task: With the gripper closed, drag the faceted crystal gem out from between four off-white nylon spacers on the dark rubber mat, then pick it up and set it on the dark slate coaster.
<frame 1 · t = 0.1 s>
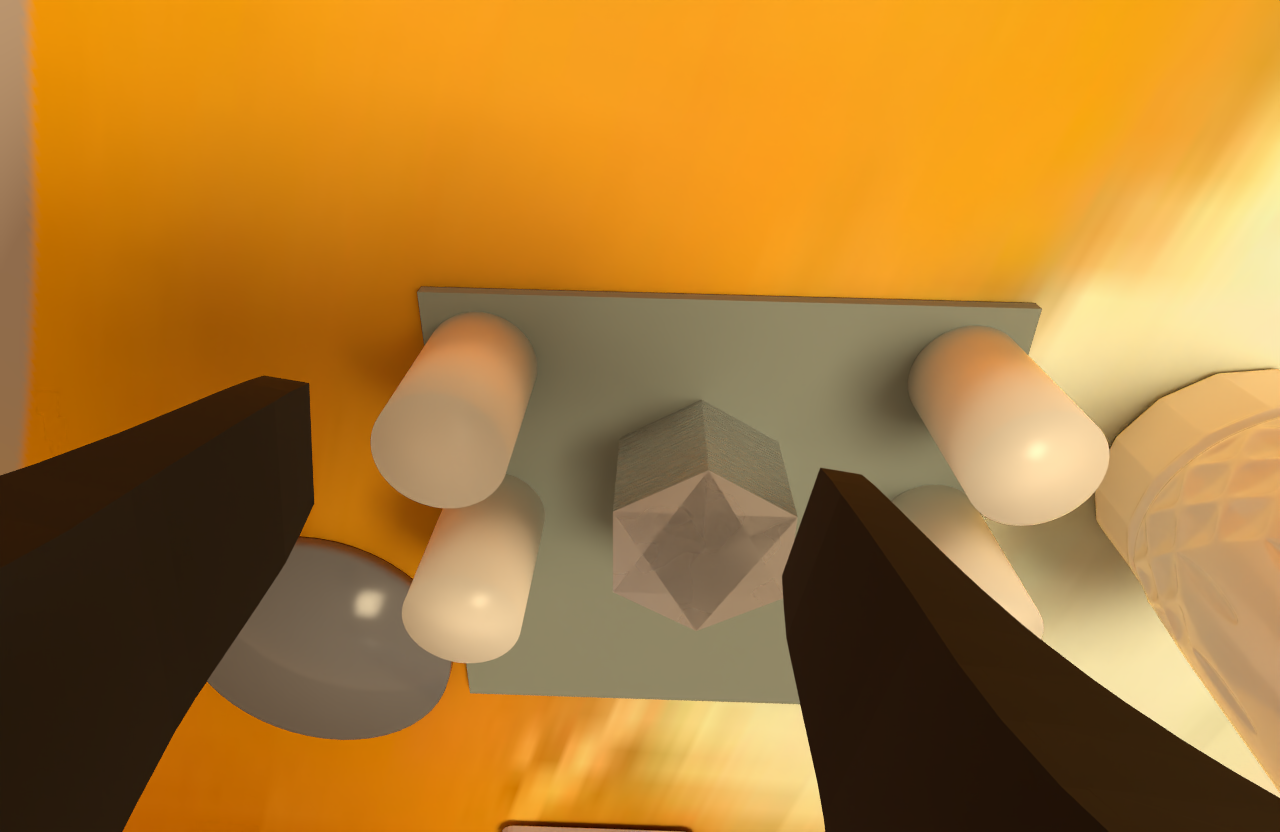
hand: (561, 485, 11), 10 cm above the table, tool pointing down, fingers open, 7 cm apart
mat: (708, 524, 24), on the table
coaster: (324, 639, 26), on the table
white cup: (1207, 466, 22), on the table
faceted crystal gem: (696, 477, 22), resting on mat
spacers: (709, 511, 23), resting on mat
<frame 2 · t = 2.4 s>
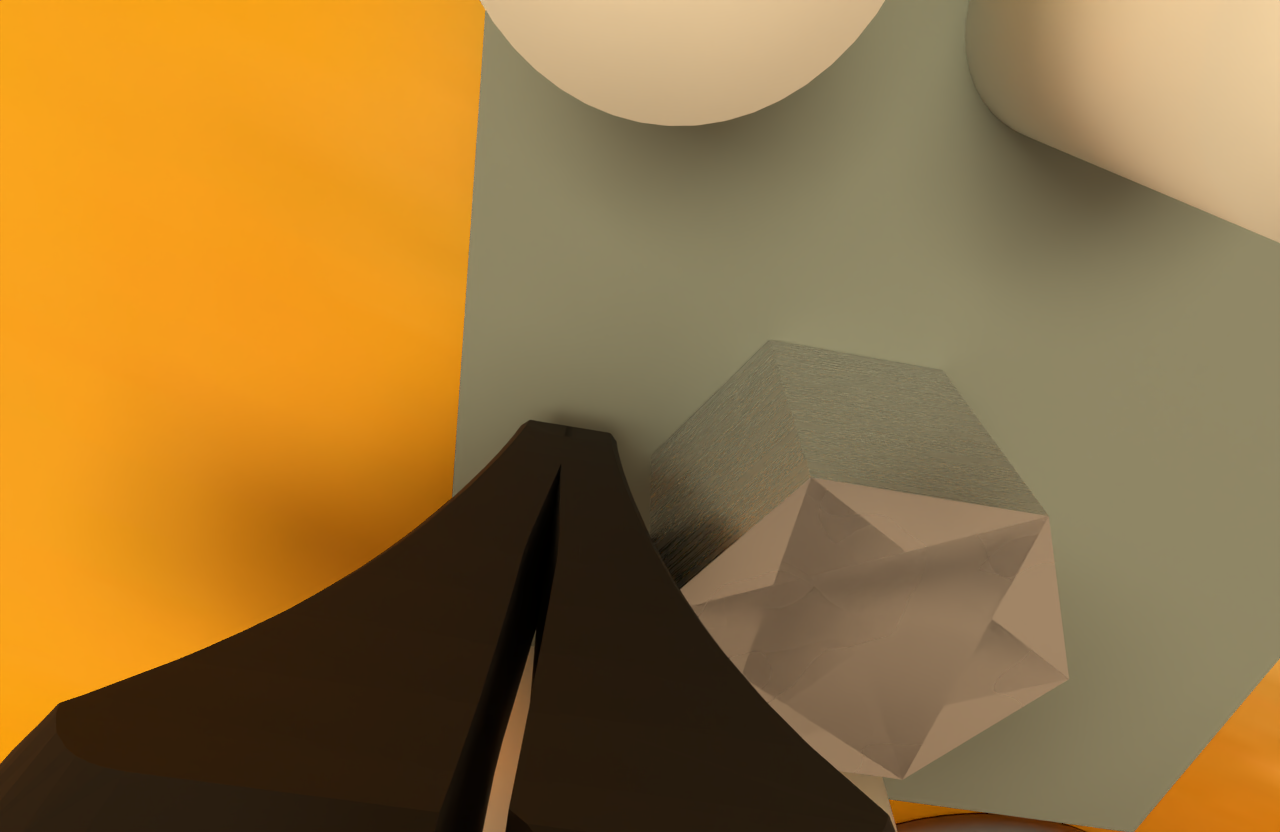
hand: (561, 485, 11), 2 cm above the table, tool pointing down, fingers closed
mat: (927, 460, 12), on the table
faceted crystal gem: (812, 481, 12), resting on mat, touching gripper
spacers: (897, 455, 12), resting on mat
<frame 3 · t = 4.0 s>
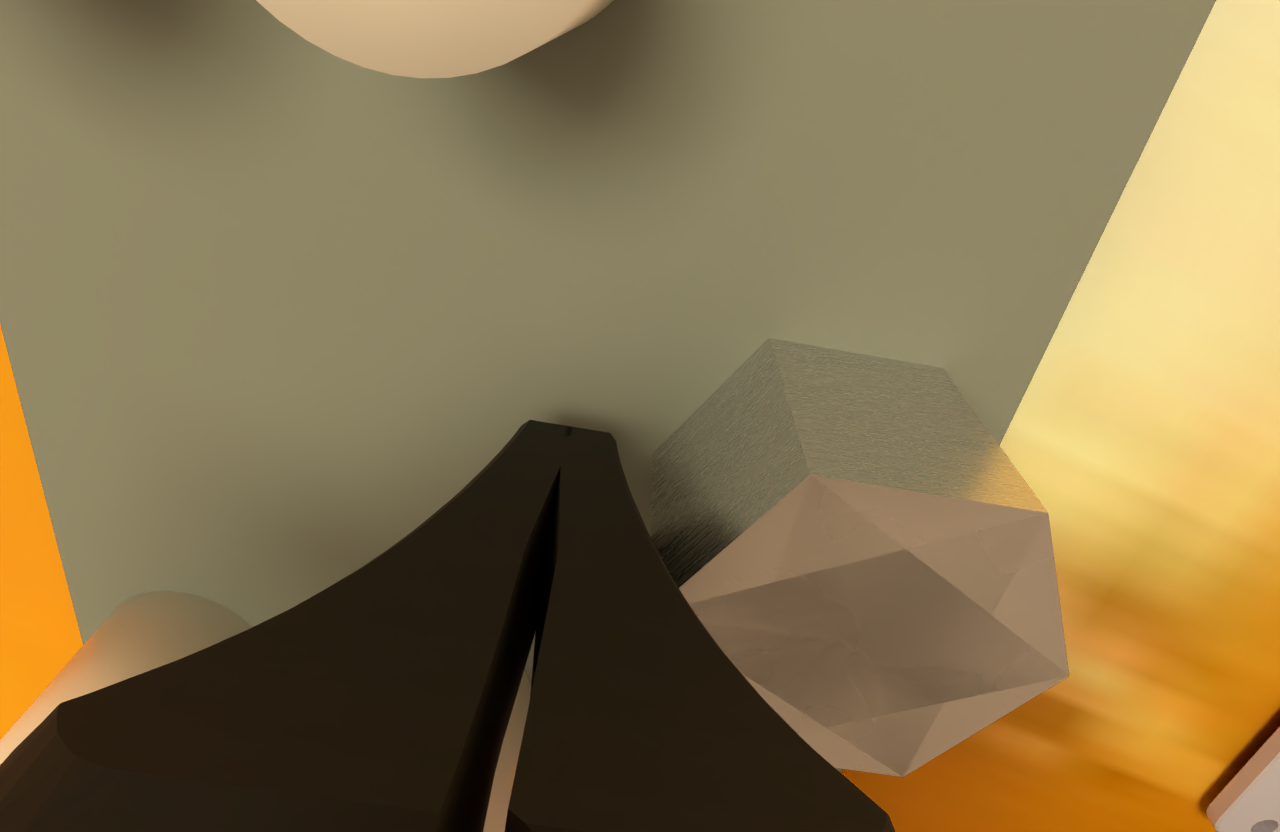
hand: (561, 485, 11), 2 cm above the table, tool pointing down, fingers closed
mat: (515, 390, 12), on the table
faceted crystal gem: (812, 479, 12), resting on mat, touching gripper
spacers: (483, 385, 12), resting on mat
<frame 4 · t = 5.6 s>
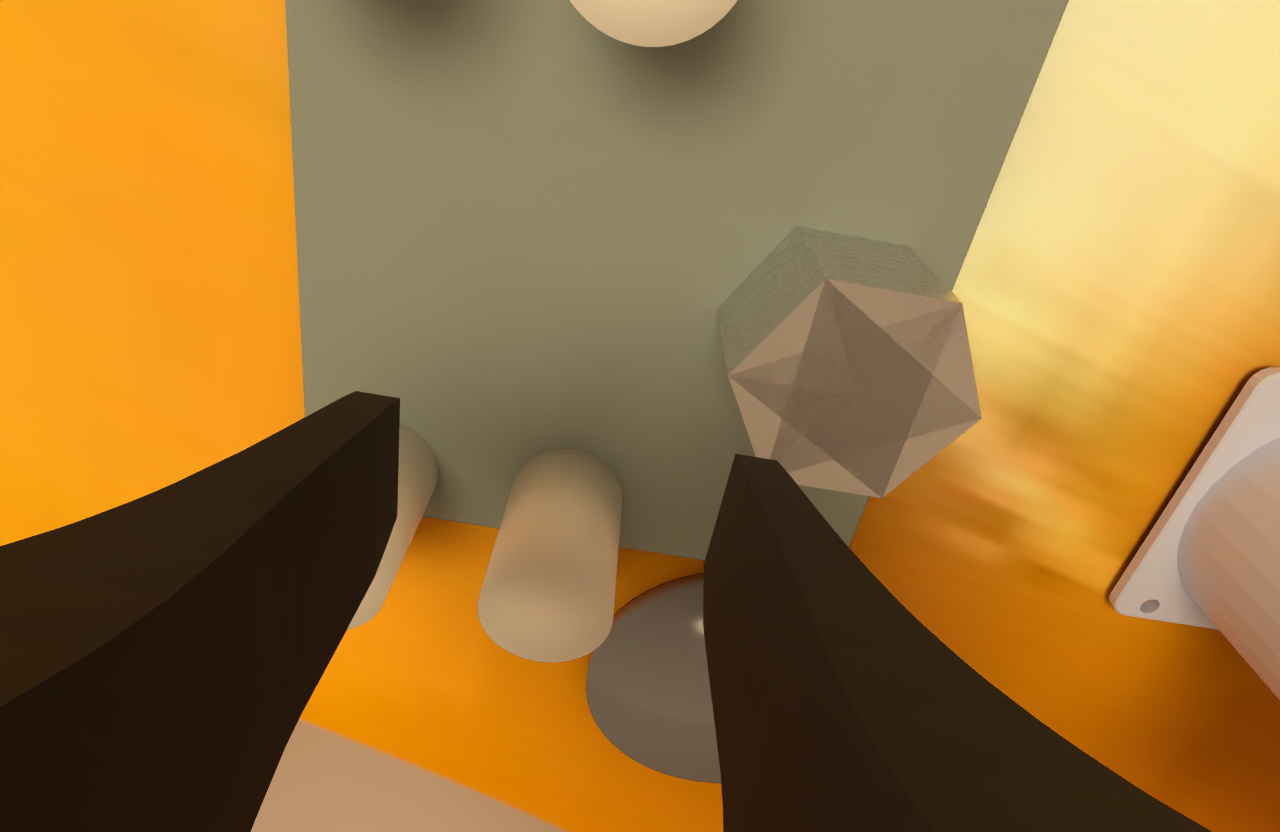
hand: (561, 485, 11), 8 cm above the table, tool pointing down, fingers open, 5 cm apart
mat: (625, 266, 18), on the table
coaster: (726, 678, 25), on the table
faceted crystal gem: (823, 327, 18), resting on mat
spacers: (604, 262, 18), resting on mat
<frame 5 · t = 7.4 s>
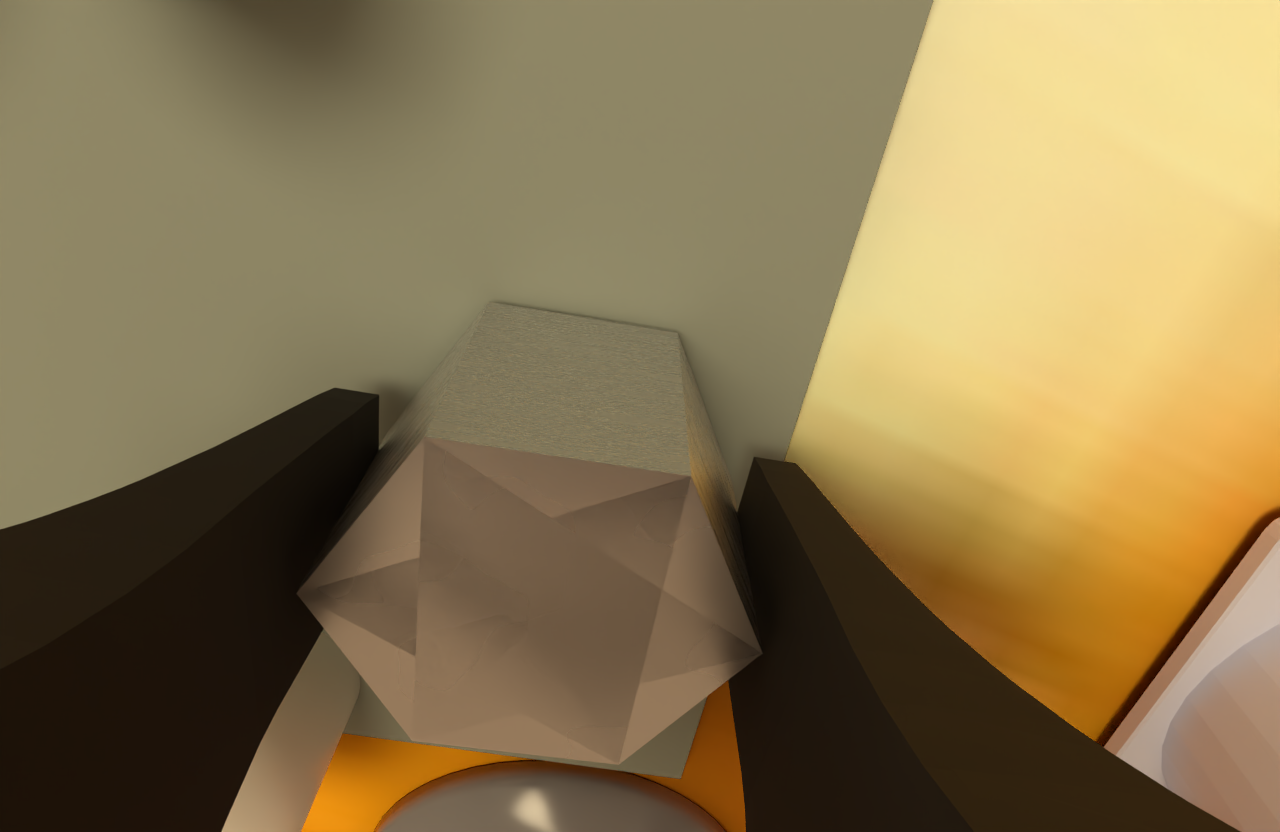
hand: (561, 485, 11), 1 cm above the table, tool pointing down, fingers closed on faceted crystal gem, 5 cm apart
mat: (300, 361, 12), on the table
faceted crystal gem: (563, 453, 12), point 1 cm above the table, touching gripper
spacers: (267, 355, 12), resting on mat
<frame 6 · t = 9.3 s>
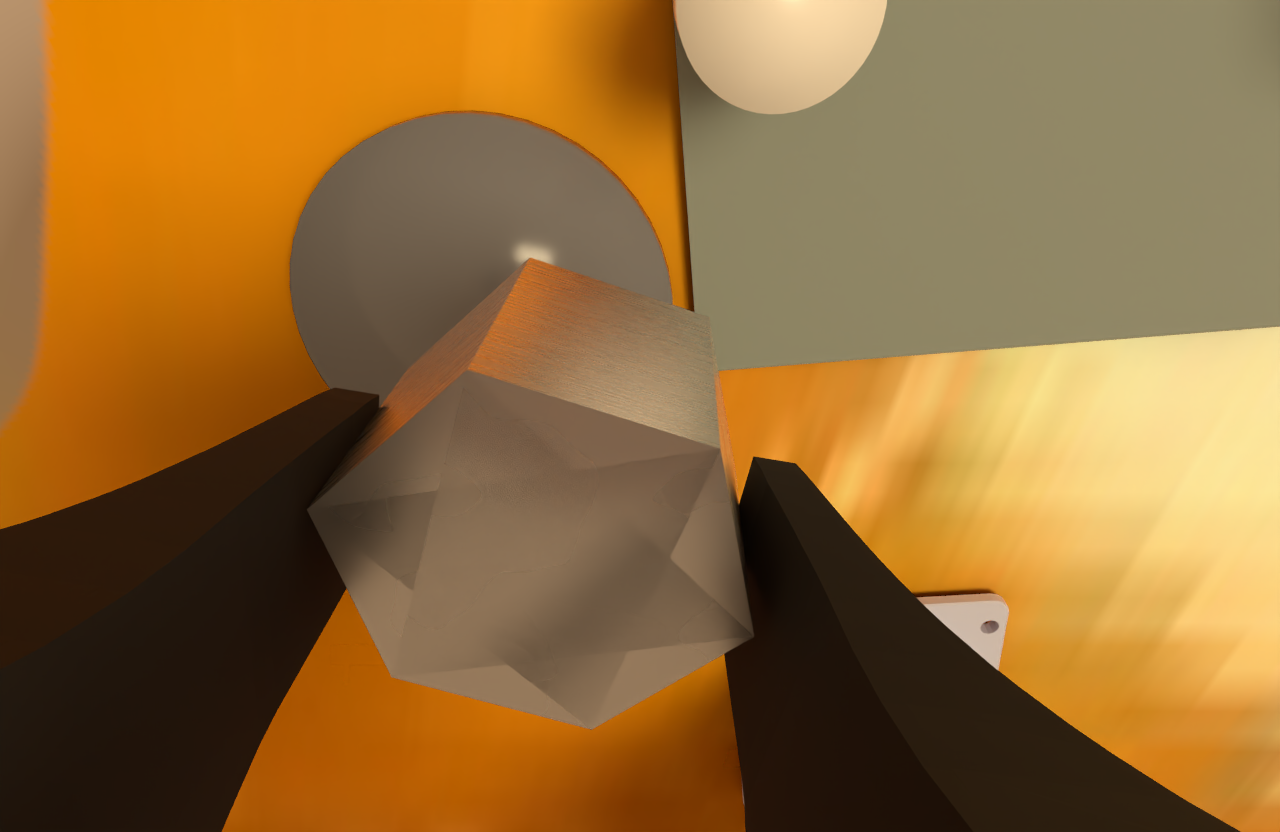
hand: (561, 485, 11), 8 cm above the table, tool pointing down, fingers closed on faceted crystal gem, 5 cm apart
coaster: (487, 307, 19), on the table
faceted crystal gem: (575, 420, 12), point 7 cm above the table, touching gripper
when the fingers open (3 cm above the table, at t = 11.0 s): faceted crystal gem drops 2 cm, resting on coaster.
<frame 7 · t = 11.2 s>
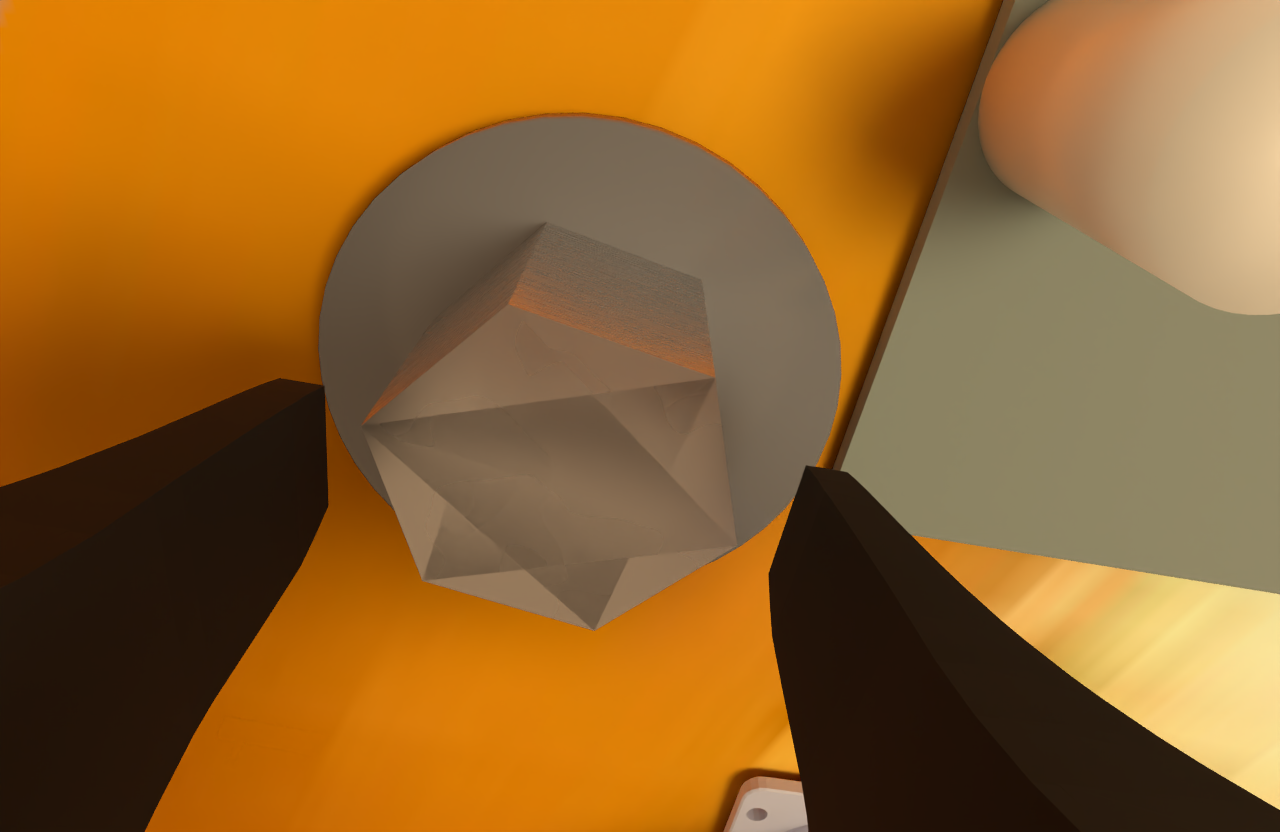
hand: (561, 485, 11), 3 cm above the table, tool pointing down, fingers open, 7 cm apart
coaster: (582, 377, 14), on the table
faceted crystal gem: (580, 370, 13), point 1 cm above the table, touching coaster
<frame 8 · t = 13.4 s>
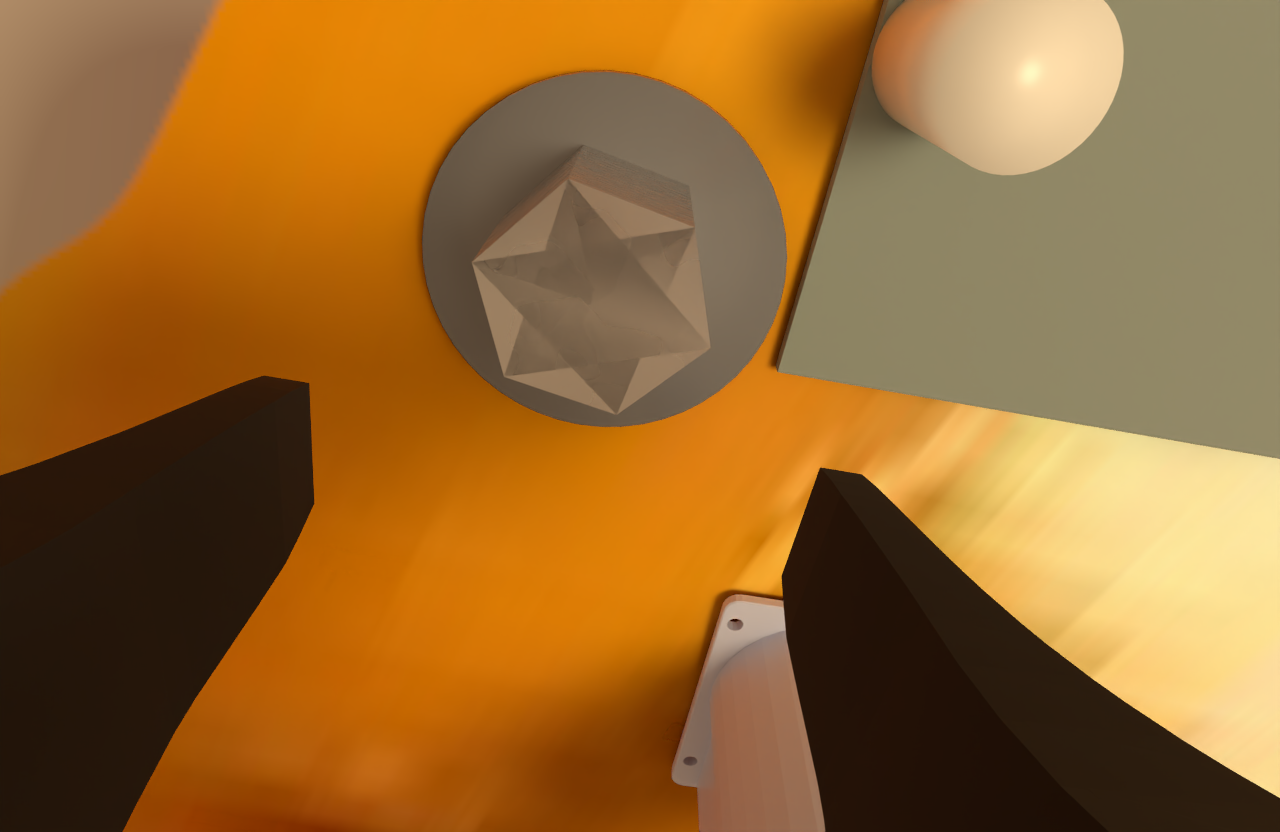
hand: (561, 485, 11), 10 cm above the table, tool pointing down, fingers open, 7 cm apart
mat: (1197, 136, 18), on the table
coaster: (605, 262, 19), on the table
faceted crystal gem: (605, 253, 19), point 1 cm above the table, touching coaster
spacers: (1209, 113, 17), resting on mat
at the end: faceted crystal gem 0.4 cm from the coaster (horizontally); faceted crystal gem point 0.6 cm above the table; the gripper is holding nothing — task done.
